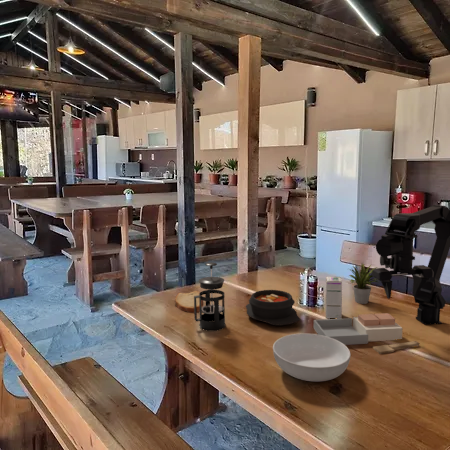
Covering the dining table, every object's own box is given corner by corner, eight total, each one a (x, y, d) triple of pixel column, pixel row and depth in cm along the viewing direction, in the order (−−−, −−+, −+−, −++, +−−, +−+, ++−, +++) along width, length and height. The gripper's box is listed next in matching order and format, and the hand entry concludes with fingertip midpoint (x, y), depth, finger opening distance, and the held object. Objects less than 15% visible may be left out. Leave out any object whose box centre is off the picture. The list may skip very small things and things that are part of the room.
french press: (221, 318, 154) (220, 258, 151) (231, 328, 146) (230, 264, 142) (191, 324, 150) (189, 262, 146) (199, 333, 141) (198, 268, 138)
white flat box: (386, 326, 145) (386, 315, 144) (401, 339, 134) (402, 328, 134) (352, 327, 144) (353, 316, 144) (366, 341, 133) (366, 329, 133)
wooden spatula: (413, 342, 132) (413, 339, 132) (421, 347, 129) (421, 344, 128) (372, 348, 128) (372, 345, 128) (379, 353, 125) (380, 350, 125)
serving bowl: (336, 401, 101) (337, 375, 100) (259, 378, 112) (259, 354, 111) (358, 365, 118) (359, 342, 117) (290, 348, 129) (290, 327, 128)
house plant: (361, 311, 160) (363, 270, 157) (335, 300, 172) (336, 262, 169) (386, 304, 167) (388, 264, 164) (359, 294, 179) (360, 257, 176)
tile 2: (387, 318, 141) (388, 313, 141) (395, 324, 136) (395, 318, 136) (373, 319, 141) (373, 313, 141) (380, 325, 136) (380, 319, 136)
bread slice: (196, 314, 160) (196, 305, 159) (160, 306, 169) (160, 297, 168) (221, 301, 175) (221, 292, 174) (187, 294, 184) (186, 286, 183)
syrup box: (341, 319, 152) (343, 281, 150) (325, 318, 153) (326, 280, 151) (340, 313, 157) (341, 276, 155) (324, 312, 159) (325, 276, 156)
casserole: (312, 324, 148) (312, 301, 147) (266, 334, 140) (266, 310, 139) (275, 303, 170) (275, 283, 169) (234, 310, 163) (234, 289, 162)
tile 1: (372, 319, 141) (372, 313, 141) (378, 325, 136) (379, 319, 136) (358, 320, 141) (358, 314, 140) (364, 326, 136) (364, 320, 135)
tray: (351, 326, 146) (351, 318, 145) (367, 343, 132) (368, 334, 131) (313, 328, 145) (313, 319, 144) (326, 345, 131) (326, 336, 130)
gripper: (415, 245, 145) (413, 288, 148) (365, 248, 143) (364, 291, 146) (435, 252, 134) (433, 298, 137) (381, 256, 132) (379, 302, 135)
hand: (401, 297), depth 139 cm, fingers open, 9 cm apart
